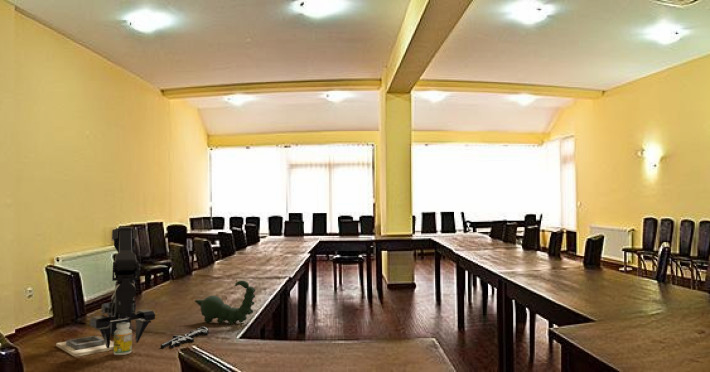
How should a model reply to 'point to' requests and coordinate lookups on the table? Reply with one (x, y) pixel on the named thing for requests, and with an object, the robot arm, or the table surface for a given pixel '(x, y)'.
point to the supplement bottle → (122, 339)
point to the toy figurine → (227, 307)
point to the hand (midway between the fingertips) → (122, 345)
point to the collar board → (85, 346)
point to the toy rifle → (185, 338)
